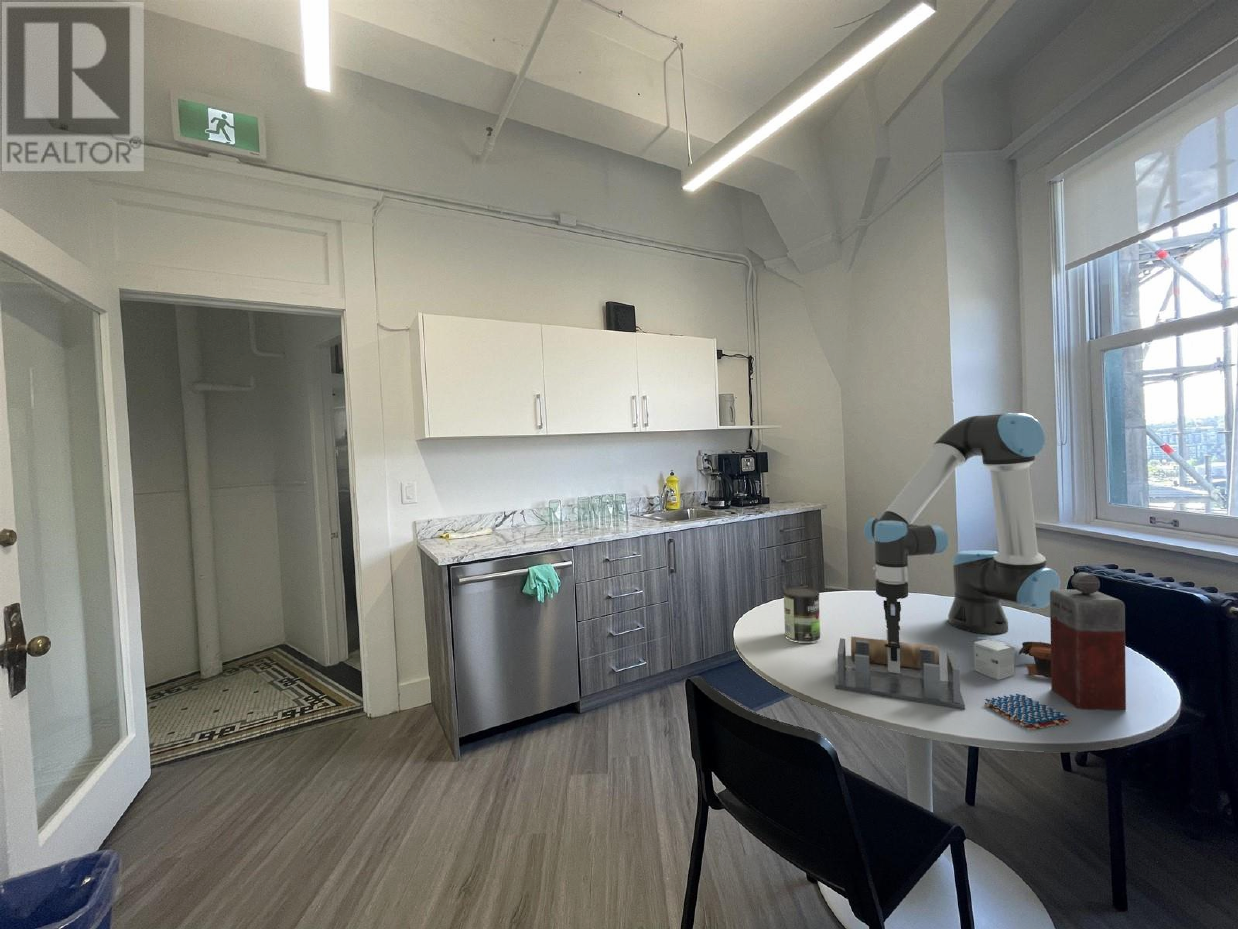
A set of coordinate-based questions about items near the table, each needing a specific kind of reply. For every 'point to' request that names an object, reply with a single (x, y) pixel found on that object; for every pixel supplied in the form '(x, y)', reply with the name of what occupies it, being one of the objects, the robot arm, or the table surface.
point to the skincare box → (994, 659)
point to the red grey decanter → (1088, 645)
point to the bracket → (901, 678)
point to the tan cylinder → (907, 652)
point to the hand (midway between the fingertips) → (893, 662)
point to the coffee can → (801, 614)
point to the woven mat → (1026, 711)
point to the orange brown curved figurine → (1038, 657)
